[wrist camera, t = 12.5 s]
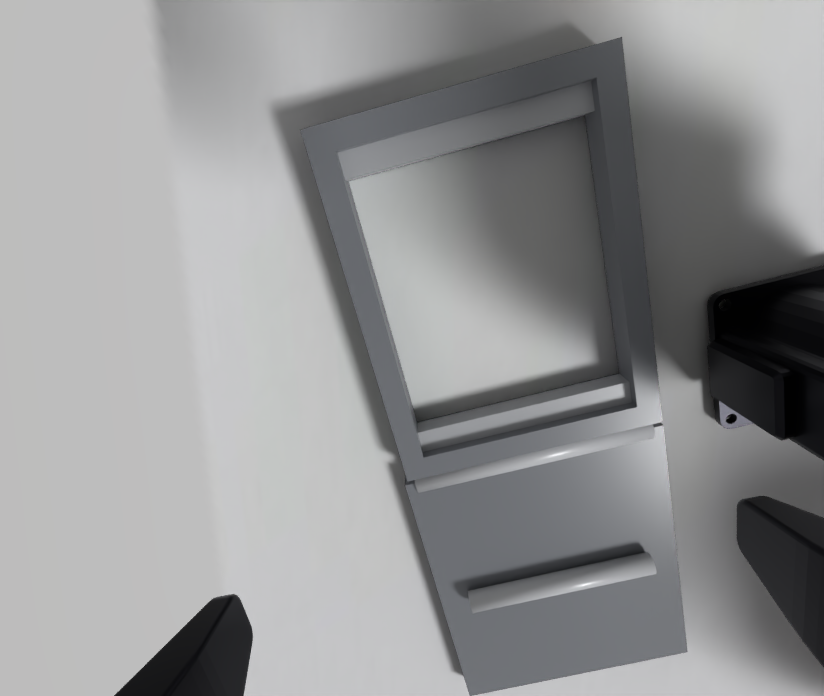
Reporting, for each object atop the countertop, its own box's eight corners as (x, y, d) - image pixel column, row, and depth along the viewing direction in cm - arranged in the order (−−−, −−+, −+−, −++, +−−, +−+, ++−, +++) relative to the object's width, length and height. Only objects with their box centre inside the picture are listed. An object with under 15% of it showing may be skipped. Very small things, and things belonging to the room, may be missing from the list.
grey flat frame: (610, 48, 17) (635, 30, 15) (677, 635, 26) (698, 669, 24) (302, 136, 18) (290, 129, 16) (467, 678, 27) (472, 714, 25)
